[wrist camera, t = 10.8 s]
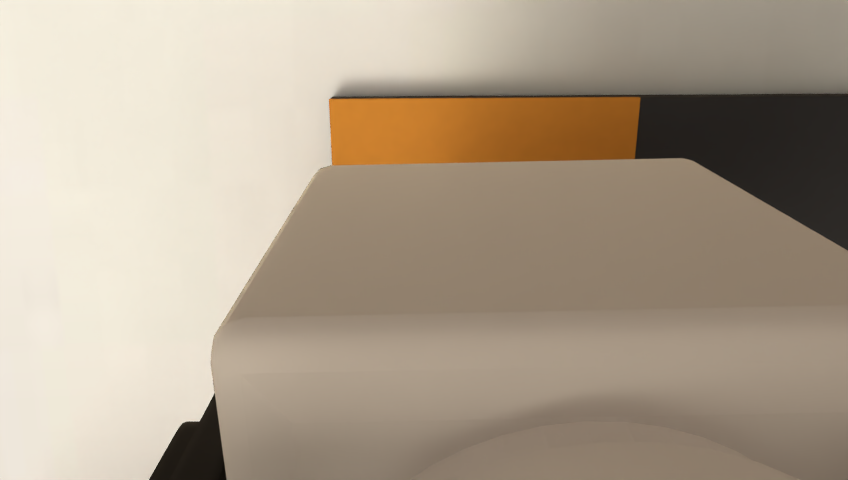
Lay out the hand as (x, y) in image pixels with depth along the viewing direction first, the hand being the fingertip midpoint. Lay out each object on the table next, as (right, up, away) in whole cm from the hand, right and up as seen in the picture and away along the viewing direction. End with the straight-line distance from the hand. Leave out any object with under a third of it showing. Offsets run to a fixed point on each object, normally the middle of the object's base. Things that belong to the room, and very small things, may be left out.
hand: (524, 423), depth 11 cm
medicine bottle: (0, +1, +3) cm, 4 cm away
